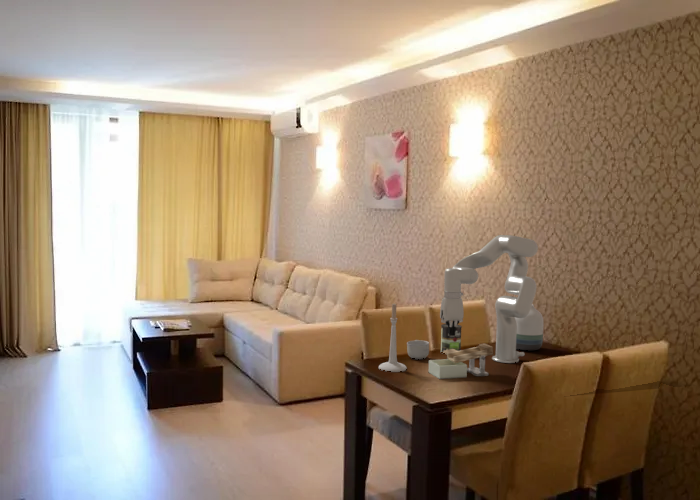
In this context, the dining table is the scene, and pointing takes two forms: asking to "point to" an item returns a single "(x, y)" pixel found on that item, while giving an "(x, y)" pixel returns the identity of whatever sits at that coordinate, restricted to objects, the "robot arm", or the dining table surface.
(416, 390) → the dining table surface
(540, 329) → the vase
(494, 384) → the dining table surface
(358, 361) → the dining table surface
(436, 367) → the pale green open box
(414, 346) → the teacup
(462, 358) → the lever
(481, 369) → the lever stand
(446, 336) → the coffee can
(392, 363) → the candlestick
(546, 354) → the dining table surface
